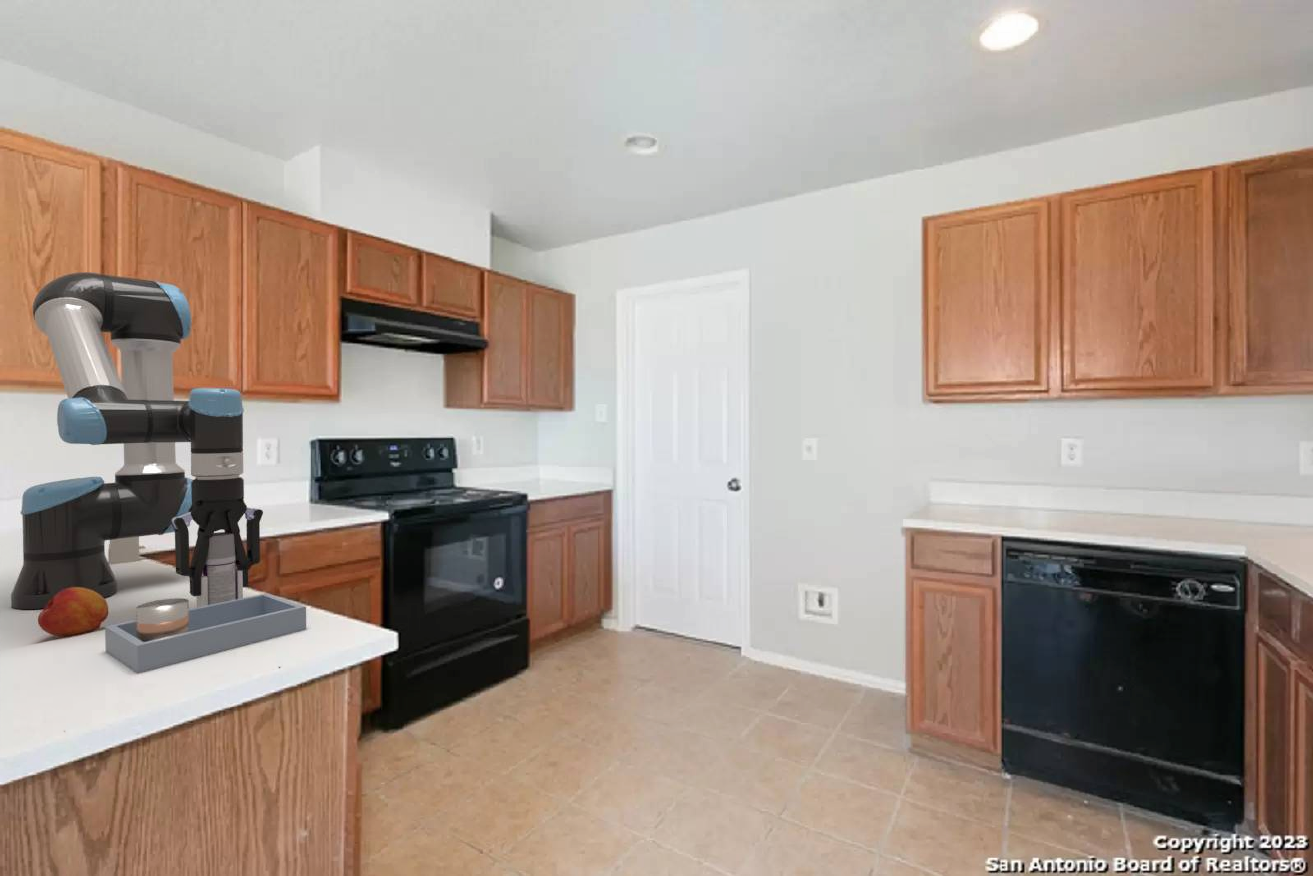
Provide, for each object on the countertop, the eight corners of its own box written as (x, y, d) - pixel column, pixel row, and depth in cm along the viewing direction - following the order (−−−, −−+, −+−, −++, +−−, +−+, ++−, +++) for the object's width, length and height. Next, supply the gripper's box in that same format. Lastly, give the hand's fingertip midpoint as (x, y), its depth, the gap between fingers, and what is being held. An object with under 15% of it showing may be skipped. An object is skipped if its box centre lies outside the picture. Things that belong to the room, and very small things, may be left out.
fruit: (49, 633, 103) (48, 584, 103) (113, 625, 107) (112, 578, 107) (32, 647, 97) (31, 596, 96) (101, 638, 101) (100, 589, 100)
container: (207, 617, 111) (206, 532, 111) (239, 613, 113) (237, 531, 113) (200, 625, 107) (199, 537, 107) (233, 621, 109) (231, 535, 108)
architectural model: (108, 564, 155) (107, 534, 155) (144, 560, 160) (143, 531, 160) (109, 566, 153) (108, 536, 153) (145, 562, 158) (145, 532, 158)
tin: (131, 653, 92) (130, 605, 92) (181, 641, 97) (180, 596, 97) (145, 662, 88) (144, 612, 88) (196, 649, 93) (195, 602, 93)
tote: (105, 656, 93) (105, 626, 93) (267, 618, 111) (266, 593, 111) (137, 679, 85) (137, 645, 84) (306, 633, 103) (306, 606, 102)
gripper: (163, 482, 100) (166, 627, 101) (282, 474, 114) (284, 601, 115) (147, 479, 104) (150, 618, 105) (263, 472, 119) (265, 595, 119)
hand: (220, 609), depth 110 cm, fingers closed on container, 5 cm apart
